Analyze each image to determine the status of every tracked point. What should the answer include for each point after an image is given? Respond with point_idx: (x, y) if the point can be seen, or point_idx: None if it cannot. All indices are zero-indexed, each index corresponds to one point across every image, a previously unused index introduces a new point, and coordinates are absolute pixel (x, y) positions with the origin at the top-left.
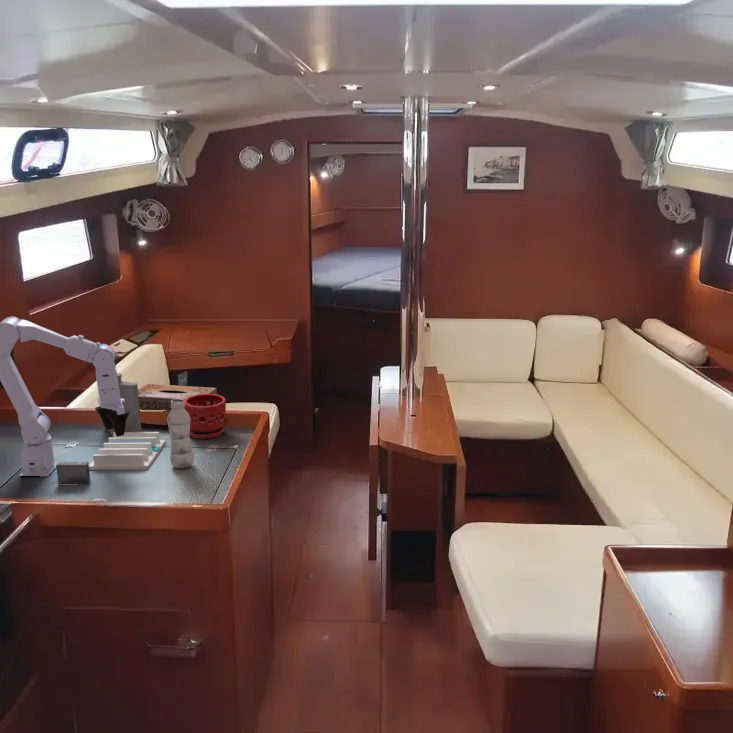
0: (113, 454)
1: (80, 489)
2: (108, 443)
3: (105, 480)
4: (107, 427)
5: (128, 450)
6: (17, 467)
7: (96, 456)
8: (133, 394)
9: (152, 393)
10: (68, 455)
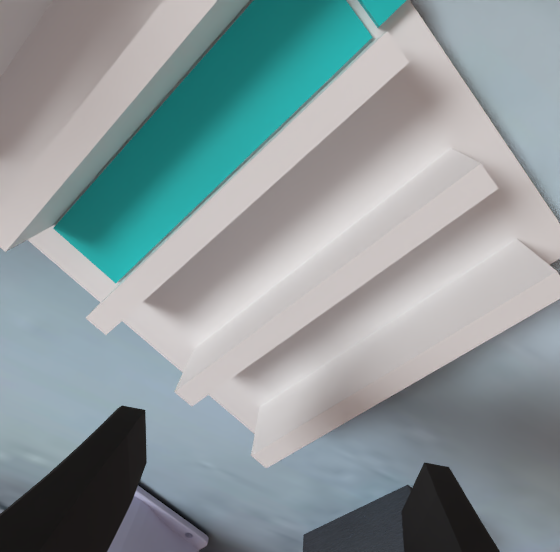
0: (354, 398)
1: None
2: (118, 307)
3: (456, 447)
4: (132, 481)
5: (356, 283)
6: None
7: (283, 454)
8: None
9: None
10: (3, 385)
